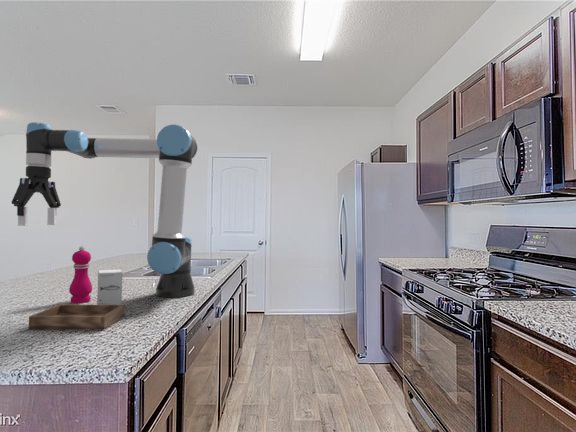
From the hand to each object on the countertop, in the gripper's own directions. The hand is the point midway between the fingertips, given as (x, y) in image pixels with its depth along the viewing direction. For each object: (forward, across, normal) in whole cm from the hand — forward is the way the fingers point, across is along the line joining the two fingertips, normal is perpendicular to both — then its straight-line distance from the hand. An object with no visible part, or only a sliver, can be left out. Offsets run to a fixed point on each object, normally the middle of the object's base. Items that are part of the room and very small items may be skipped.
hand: (37, 225), depth 131 cm
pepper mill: (+28, -1, +16) cm, 32 cm away
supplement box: (+28, +6, +31) cm, 42 cm away
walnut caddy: (+28, +23, +32) cm, 48 cm away
